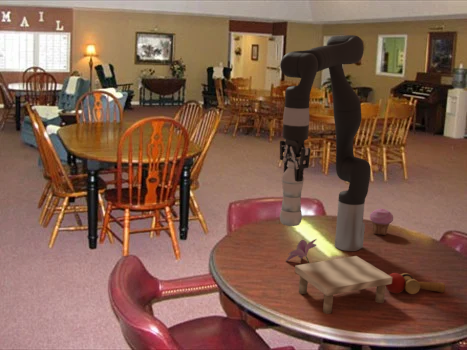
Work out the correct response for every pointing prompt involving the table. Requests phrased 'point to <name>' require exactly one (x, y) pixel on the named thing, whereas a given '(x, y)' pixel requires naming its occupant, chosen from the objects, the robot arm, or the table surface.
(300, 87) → the robot arm
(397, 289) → the kendama
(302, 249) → the lily
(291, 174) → the plastic bottle
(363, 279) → the footstool
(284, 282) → the table surface
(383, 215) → the cupcake
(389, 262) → the table surface
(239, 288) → the table surface
